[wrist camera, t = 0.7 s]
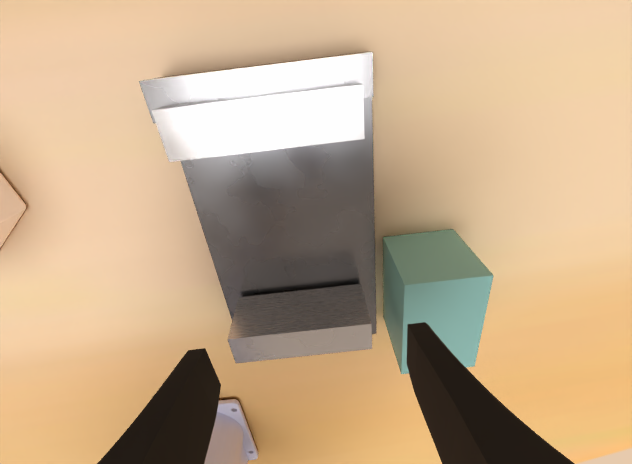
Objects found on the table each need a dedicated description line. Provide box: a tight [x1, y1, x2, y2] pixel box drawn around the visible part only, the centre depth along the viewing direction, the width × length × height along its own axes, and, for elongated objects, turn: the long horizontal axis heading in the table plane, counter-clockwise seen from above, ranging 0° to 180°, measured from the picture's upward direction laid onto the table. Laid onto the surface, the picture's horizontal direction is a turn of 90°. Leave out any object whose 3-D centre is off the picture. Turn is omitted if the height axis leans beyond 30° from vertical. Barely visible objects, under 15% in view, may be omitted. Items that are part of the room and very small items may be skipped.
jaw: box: [228, 284, 372, 363], centre depth 19 cm, size 2×8×4 cm, turn 96°
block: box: [383, 229, 493, 374], centre depth 20 cm, size 7×4×5 cm, turn 6°
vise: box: [139, 52, 376, 334], centre depth 18 cm, size 18×10×4 cm, turn 6°
